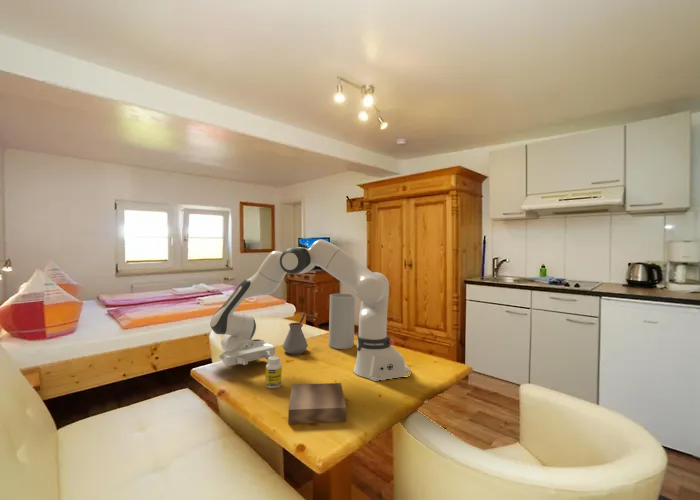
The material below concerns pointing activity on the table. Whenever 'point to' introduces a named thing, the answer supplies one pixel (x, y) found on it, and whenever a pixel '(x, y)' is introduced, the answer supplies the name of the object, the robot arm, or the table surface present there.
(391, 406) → the table surface
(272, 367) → the supplement bottle
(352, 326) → the cylinder vase
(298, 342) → the coffee pot
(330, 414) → the walnut plinth
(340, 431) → the table surface
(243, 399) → the table surface
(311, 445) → the table surface
